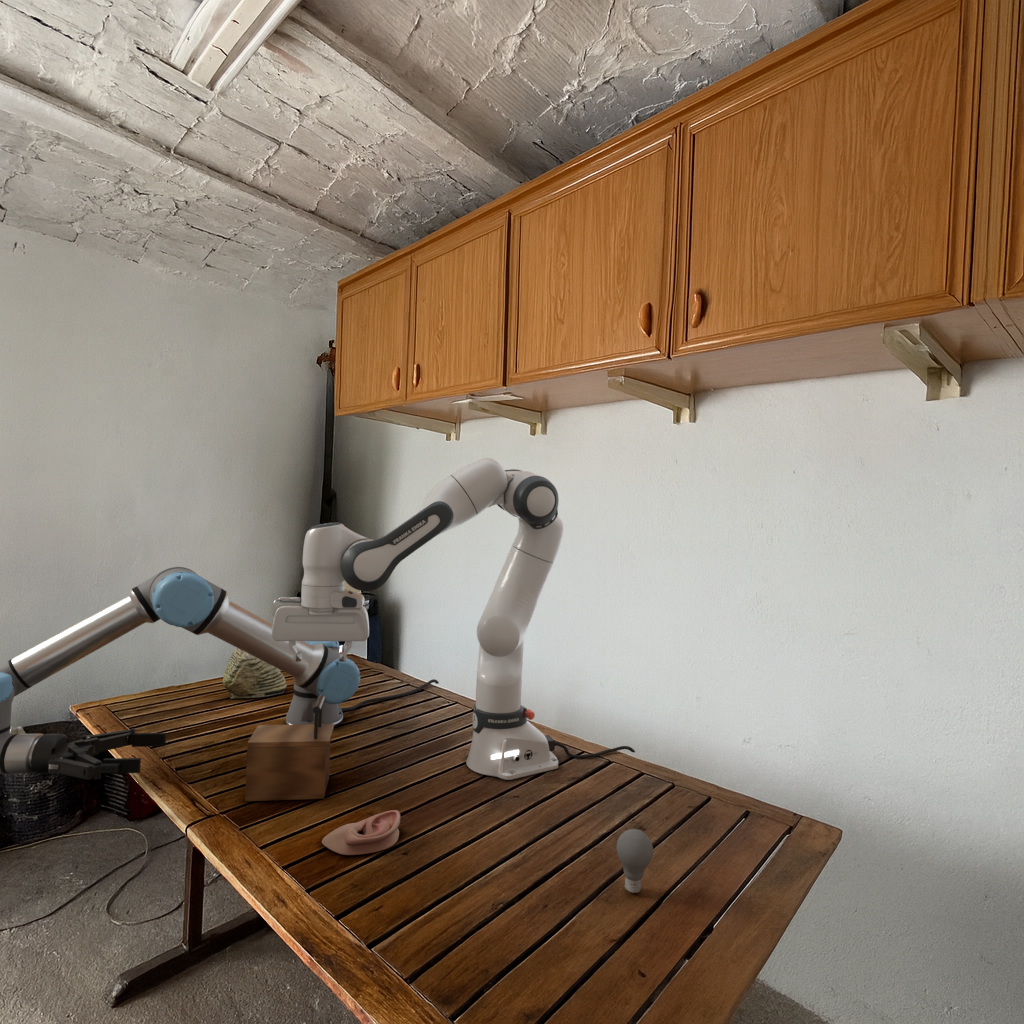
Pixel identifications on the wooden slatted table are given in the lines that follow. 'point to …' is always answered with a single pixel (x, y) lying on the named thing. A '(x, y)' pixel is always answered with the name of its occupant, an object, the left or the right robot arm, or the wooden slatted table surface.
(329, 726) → the lid
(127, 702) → the wooden slatted table surface
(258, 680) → the fossil
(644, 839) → the light bulb
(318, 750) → the chest
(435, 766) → the wooden slatted table surface
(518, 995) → the wooden slatted table surface
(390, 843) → the anatomical model
